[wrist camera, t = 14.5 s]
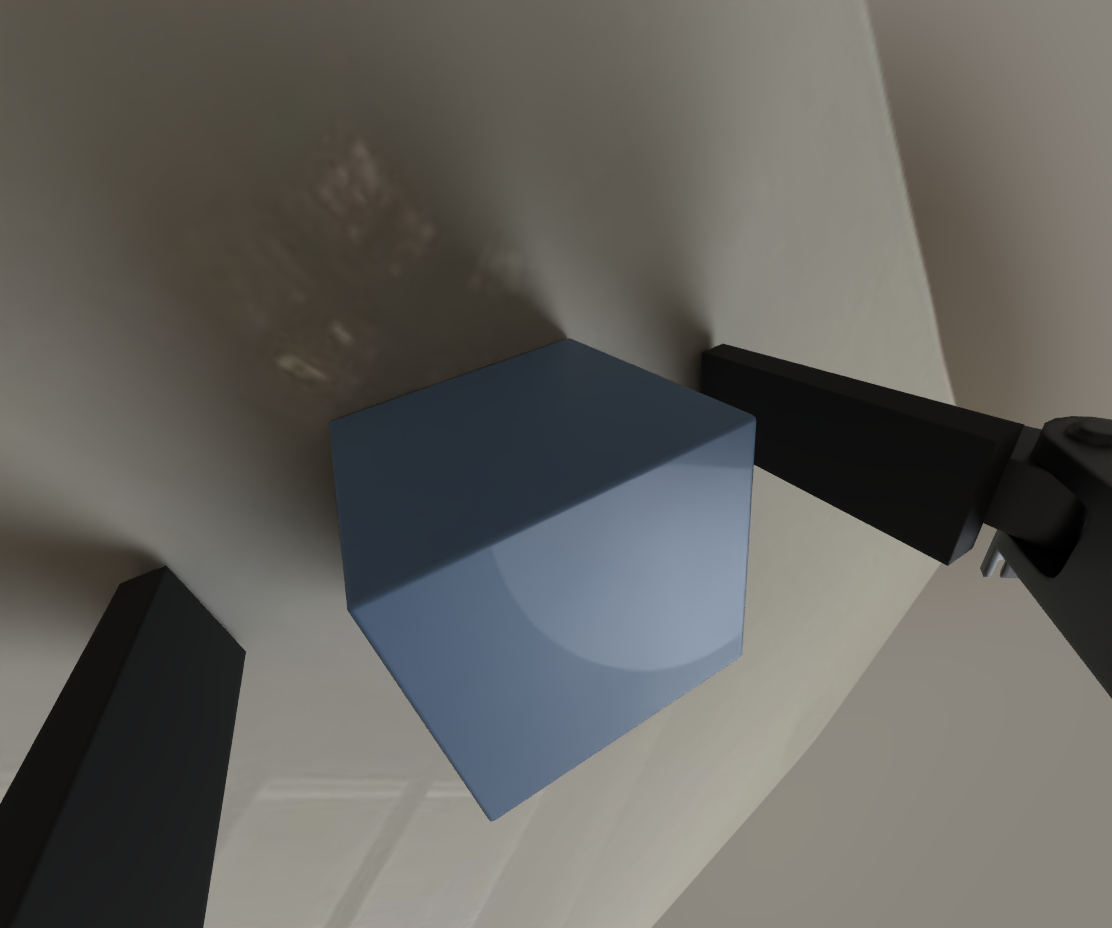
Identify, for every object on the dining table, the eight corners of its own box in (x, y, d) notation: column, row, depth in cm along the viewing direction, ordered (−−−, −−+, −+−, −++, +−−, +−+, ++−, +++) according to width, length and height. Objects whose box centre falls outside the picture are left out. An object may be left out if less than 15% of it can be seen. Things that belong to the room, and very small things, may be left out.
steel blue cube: (327, 421, 9) (344, 610, 4) (569, 336, 10) (759, 415, 6) (423, 603, 12) (491, 825, 7) (601, 516, 13) (743, 657, 9)
